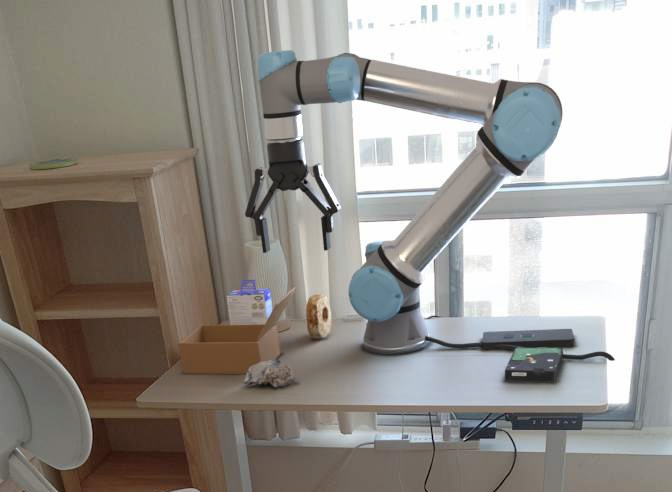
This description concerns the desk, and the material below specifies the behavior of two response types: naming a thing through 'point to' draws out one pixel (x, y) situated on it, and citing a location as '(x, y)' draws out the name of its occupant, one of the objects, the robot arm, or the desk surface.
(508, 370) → the disk drive
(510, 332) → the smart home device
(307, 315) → the stone disc
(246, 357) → the carton
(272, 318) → the flap
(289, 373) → the mineral specimen
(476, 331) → the desk surface
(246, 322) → the ink cartridge box
